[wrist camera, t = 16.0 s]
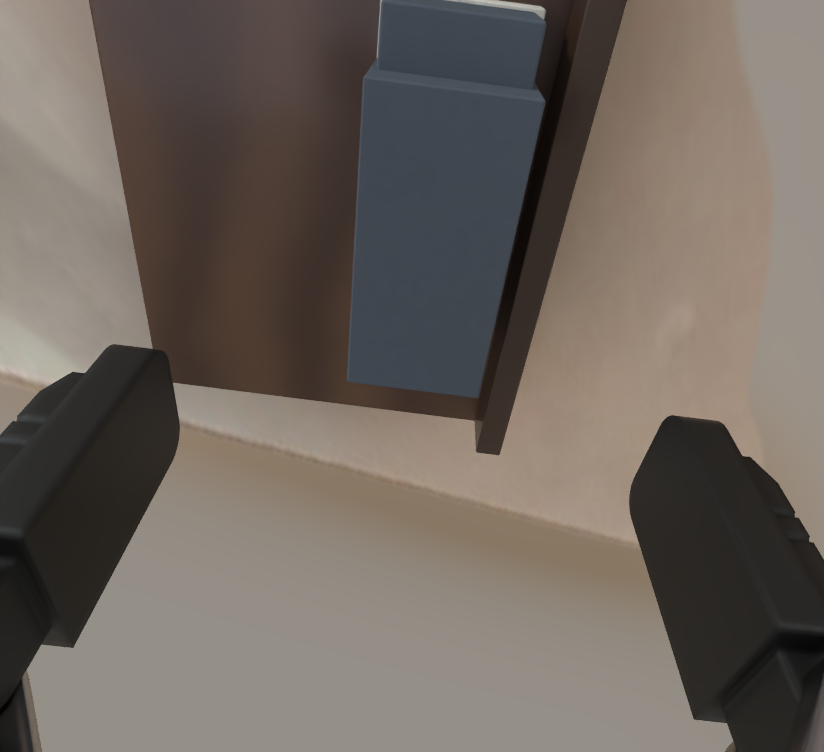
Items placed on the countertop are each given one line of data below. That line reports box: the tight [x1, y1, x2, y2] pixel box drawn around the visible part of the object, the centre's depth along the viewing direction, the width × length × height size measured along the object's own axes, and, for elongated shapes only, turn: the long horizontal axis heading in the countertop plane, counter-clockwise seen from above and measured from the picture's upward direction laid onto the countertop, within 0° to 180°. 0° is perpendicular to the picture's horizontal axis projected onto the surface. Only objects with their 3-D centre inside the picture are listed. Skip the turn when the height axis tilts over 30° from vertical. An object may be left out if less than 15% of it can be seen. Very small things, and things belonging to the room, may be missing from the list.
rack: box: [89, 0, 627, 455], centre depth 21 cm, size 15×20×7 cm
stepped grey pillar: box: [347, 0, 547, 398], centre depth 18 cm, size 11×4×4 cm, turn 174°
